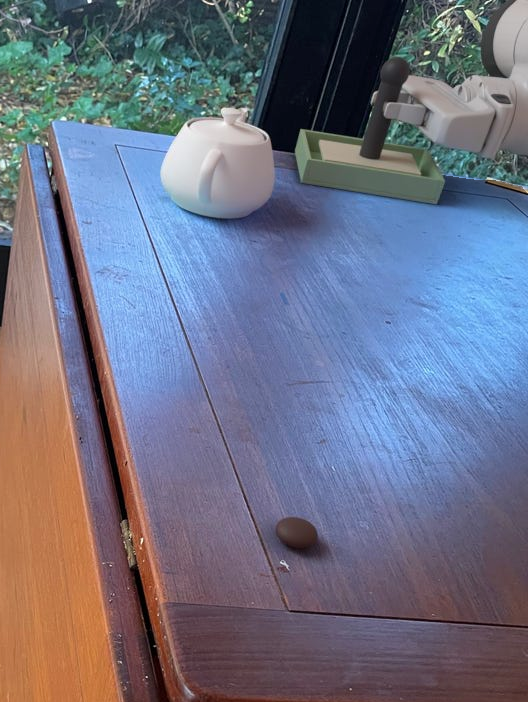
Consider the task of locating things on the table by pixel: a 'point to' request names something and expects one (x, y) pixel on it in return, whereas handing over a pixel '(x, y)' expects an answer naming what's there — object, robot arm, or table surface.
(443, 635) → the table surface
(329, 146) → the joystick
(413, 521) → the table surface
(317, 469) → the table surface
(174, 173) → the teapot
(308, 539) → the chocolate truffle
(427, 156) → the tray
